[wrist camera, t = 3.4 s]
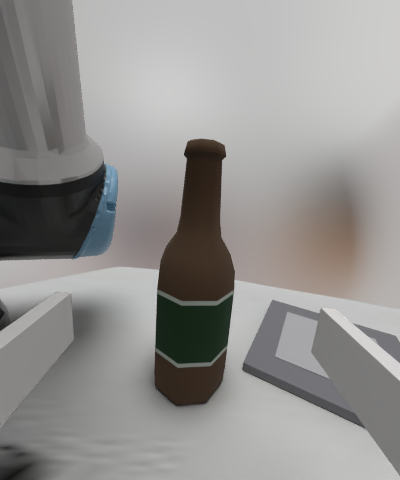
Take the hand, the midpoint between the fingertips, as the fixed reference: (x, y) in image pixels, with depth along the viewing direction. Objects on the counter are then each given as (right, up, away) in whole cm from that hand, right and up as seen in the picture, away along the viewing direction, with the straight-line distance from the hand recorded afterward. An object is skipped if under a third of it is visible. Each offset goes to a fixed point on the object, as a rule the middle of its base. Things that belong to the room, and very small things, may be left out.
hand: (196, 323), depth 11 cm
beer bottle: (-1, -11, +12) cm, 16 cm away
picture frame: (+17, -11, +17) cm, 27 cm away
